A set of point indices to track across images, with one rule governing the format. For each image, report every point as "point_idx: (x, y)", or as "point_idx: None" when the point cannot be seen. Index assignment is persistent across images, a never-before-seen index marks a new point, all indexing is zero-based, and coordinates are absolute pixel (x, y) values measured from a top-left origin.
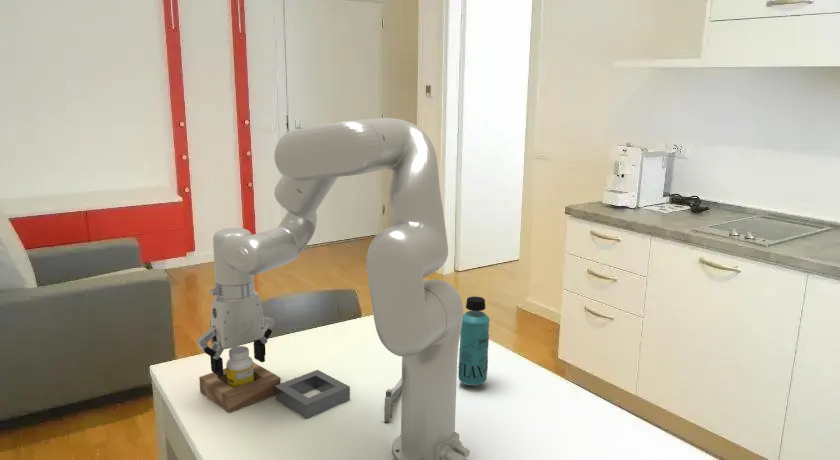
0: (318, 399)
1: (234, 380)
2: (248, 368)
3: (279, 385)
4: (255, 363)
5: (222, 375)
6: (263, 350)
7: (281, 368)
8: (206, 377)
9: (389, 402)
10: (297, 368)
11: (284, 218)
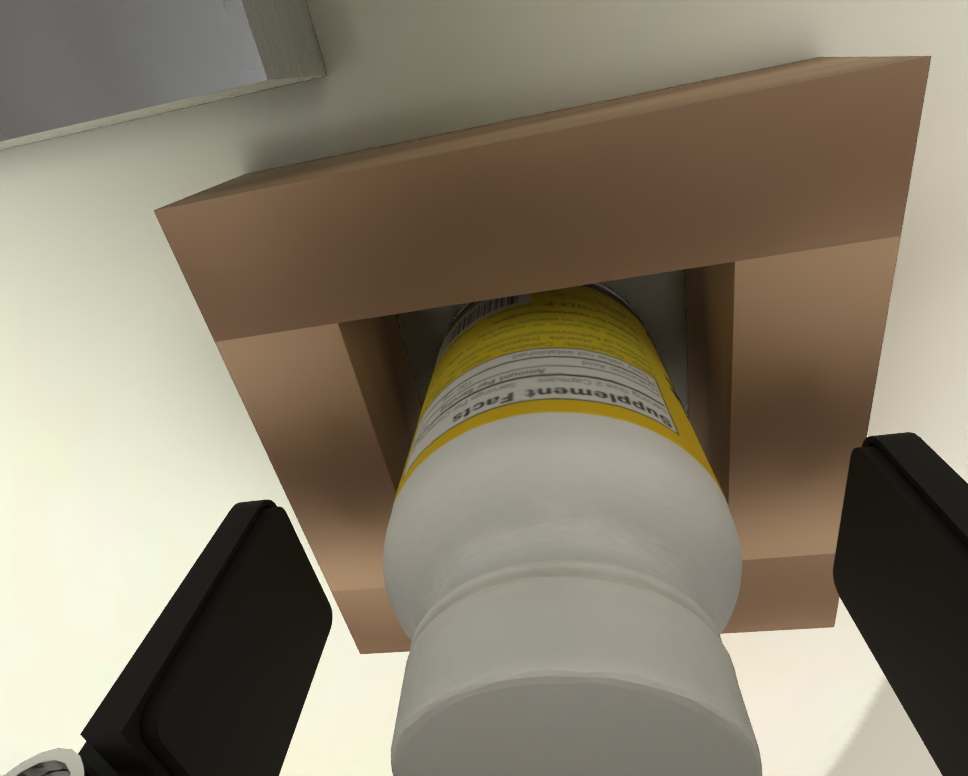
0: None
1: (664, 385)
2: (497, 416)
3: (202, 56)
4: (335, 595)
5: (876, 438)
6: (162, 633)
7: (175, 528)
8: (794, 594)
9: None
10: (64, 476)
11: None
